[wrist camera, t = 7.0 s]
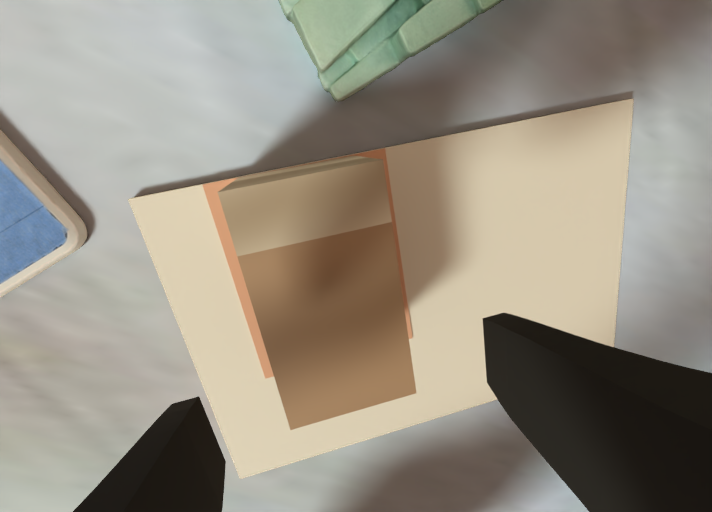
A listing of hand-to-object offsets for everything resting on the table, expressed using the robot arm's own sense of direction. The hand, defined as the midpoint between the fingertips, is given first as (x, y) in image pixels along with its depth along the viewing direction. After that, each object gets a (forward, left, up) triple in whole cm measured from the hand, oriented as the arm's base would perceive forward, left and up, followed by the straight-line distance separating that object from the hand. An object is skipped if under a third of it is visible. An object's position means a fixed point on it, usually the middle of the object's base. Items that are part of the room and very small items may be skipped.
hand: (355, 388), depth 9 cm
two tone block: (0, +1, -9) cm, 9 cm away
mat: (+5, -3, -9) cm, 11 cm away
